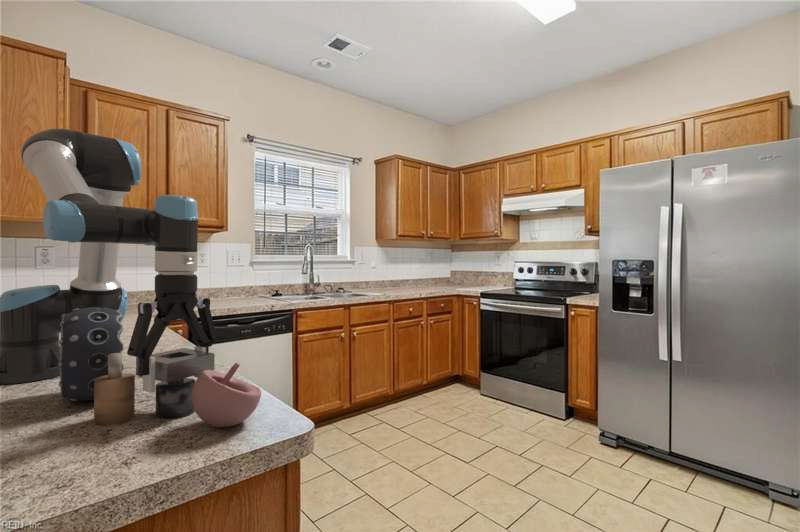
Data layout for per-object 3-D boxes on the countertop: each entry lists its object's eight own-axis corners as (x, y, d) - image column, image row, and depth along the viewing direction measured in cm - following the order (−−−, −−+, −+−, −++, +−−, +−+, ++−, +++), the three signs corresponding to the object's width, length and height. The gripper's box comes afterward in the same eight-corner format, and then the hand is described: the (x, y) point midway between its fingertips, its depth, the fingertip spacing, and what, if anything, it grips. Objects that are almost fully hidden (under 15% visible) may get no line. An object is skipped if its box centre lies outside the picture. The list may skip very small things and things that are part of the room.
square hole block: (136, 375, 80) (136, 357, 80) (183, 364, 89) (184, 348, 89) (166, 382, 75) (167, 363, 75) (214, 370, 84) (214, 353, 84)
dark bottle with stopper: (153, 411, 83) (153, 357, 83) (191, 404, 87) (192, 352, 87) (157, 422, 77) (157, 364, 77) (198, 414, 82) (198, 359, 81)
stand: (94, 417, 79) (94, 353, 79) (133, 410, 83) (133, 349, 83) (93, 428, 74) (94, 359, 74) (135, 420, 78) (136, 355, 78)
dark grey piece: (57, 417, 79) (57, 314, 79) (63, 390, 95) (64, 304, 95) (124, 406, 86) (124, 311, 85) (119, 382, 102) (120, 302, 101)
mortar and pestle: (268, 429, 75) (268, 367, 75) (195, 444, 69) (195, 376, 68) (253, 408, 85) (253, 354, 85) (188, 420, 79) (189, 360, 79)
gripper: (127, 275, 70) (126, 404, 71) (236, 272, 90) (235, 373, 90) (104, 274, 74) (103, 396, 74) (213, 272, 94) (212, 368, 94)
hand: (175, 383), depth 82 cm, fingers closed on square hole block, 10 cm apart
